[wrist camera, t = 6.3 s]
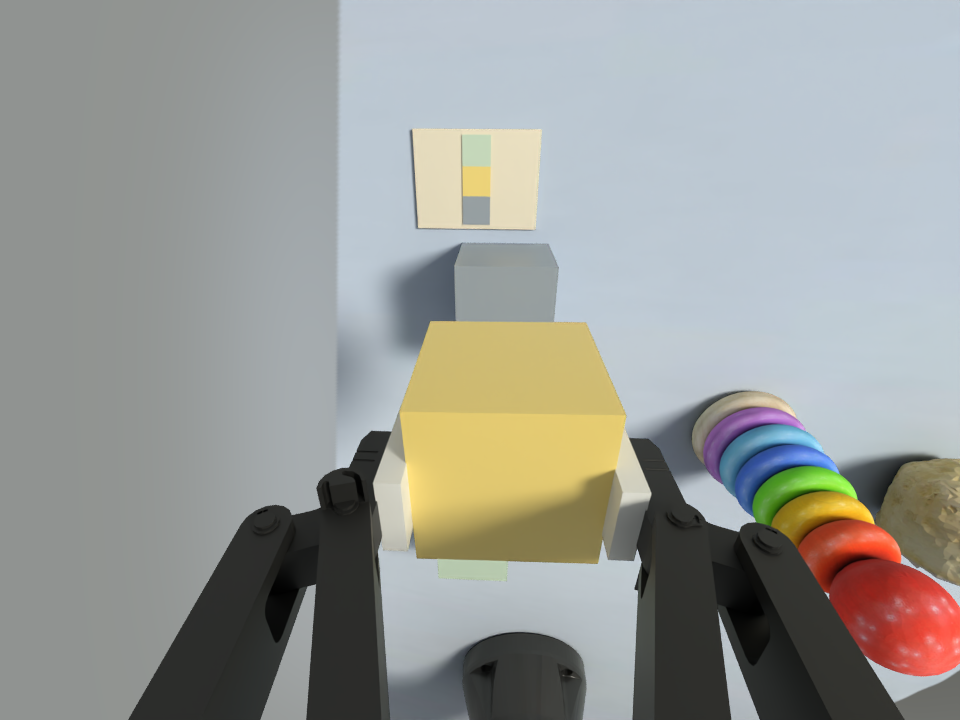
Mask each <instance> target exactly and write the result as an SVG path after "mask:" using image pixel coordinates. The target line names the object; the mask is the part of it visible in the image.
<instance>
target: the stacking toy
mask: <svg viewBox="0 0 960 720" xmlns="http://www.w3.org/2000/svg"><path fill="white" fill-rule="evenodd" d="M692 445H693V449H694V452H695V454H696V456H697V457H698V459H699V460H700V461H701V462H702V463H703V464H704V465H705V466H706V468H707V470H708V471H709V473H710V474H711V475H712V476H713V478H714V479H716V480H717V481H718V482H720V483H721V484H723V485H724V486H725V488H726V489H727V490H728V491H729V492H730V493H731V494H732V495H733V496H734V497H736V498H737V500H738V502H739V504H740V505H741V506H742V508H743V509H744V510H745V511H746V512H747V513H748V514H750V515H751V516H753V517H754V518H755V520H756V522H757V523H762V524H766V525H769V526H771V527H773V528H775V529H778V530H779V531H780V532H782V533H783V534H785V535H786V536H787V537H788V538H789V539H790V540H791V541H792V542H793V543H794V545H795V546H796V548H797V549H798V551H799V552H800V554H801V556H802V557H803V559H804V560H805V562H806V564H807V565H808V567H809V568H810V570H811V572H812V573H813V575H814V576H815V578H816V580H817V581H818V583H819V584H820V586H821V587H822V589H823V591H824V592H826V593H829V600H830V602H831V603H832V605H833V607H834V608H835V610H836V611H837V613H838V615H839V616H840V618H841V619H842V621H843V623H844V624H845V626H846V627H847V629H848V630H849V632H850V634H851V635H852V637H853V638H854V640H855V642H856V643H857V645H858V646H859V648H860V650H861V651H862V653H863V654H864V655H865V656H866V657H868V658H869V659H871V660H872V661H874V662H875V663H877V664H879V665H881V666H883V667H885V668H888V669H890V670H893V671H896V672H899V673H903V674H907V675H913V676H932V675H939V674H942V673H944V672H947V671H949V670H951V669H953V668H955V667H956V666H957V665H958V664H959V663H960V607H959V606H958V604H957V603H956V601H955V600H954V599H953V598H952V596H951V595H950V594H949V593H948V592H947V591H946V590H945V589H944V588H943V587H941V586H940V585H939V584H938V583H937V582H935V581H934V580H933V579H931V578H930V577H928V576H927V575H925V574H923V573H922V572H920V571H918V570H916V569H914V568H911V567H909V566H906V565H903V564H900V563H901V552H900V548H899V546H898V544H897V543H896V541H895V540H894V539H893V537H892V536H891V535H890V534H889V533H887V532H886V531H885V530H883V529H882V528H880V527H878V526H876V525H875V523H874V519H873V517H872V515H871V513H870V512H869V510H868V509H867V508H866V507H865V506H864V505H863V504H862V503H861V502H860V501H858V500H857V495H856V492H855V490H854V488H853V487H852V485H851V484H850V483H849V482H848V481H847V480H846V479H845V478H844V477H843V476H841V475H840V474H839V471H838V468H837V467H836V465H835V464H834V462H833V461H832V460H831V459H830V458H829V457H828V456H827V455H825V454H824V451H823V449H822V447H821V445H820V444H819V442H818V441H817V440H816V439H815V438H814V437H813V436H812V435H811V434H809V433H808V432H806V430H805V428H804V427H803V425H802V424H801V423H800V422H799V421H798V420H797V418H796V415H795V413H794V411H793V410H792V408H791V407H790V406H789V405H788V404H787V403H786V402H785V401H783V400H782V399H780V398H778V397H776V396H774V395H772V394H769V393H764V392H758V391H747V392H740V393H735V394H732V395H729V396H726V397H724V398H722V399H720V400H718V401H717V402H715V403H714V404H712V405H711V406H710V407H708V408H707V409H706V410H705V411H704V412H703V413H702V414H701V416H700V417H699V418H698V420H697V421H696V423H695V425H694V428H693V432H692Z"/></svg>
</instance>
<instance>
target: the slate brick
mask: <svg viewBox="0 0 960 720" xmlns="http://www.w3.org/2000/svg"><path fill="white" fill-rule="evenodd" d="M558 269H559V267H558V265H557V263H556V260H555V258H554V256H553V253H552V251H551V249H550V246H549V244H522V243H462V245H461V248H460V251H459V254H458V257H457V259H456V262H455V265H454V277H455V315H456V321H471V322H554V314H555V303H556V292H557V280H558Z"/></svg>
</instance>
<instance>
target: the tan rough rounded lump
mask: <svg viewBox="0 0 960 720" xmlns="http://www.w3.org/2000/svg"><path fill="white" fill-rule="evenodd" d="M875 523H876V526H878V527H880V528H882V529H883V530H885V531H886V532H887V533H889V534H890V535H891V536H892V537H893V539H894V540H895V541H896V543H897V544H898V546H899V548H900V552H901V555H903V556H904V557H905V558H907V559H908V560H909V561H910V562H911V563H912V564H913V565H914V566H915V567H916V568H919V567H921V568H923V569H925V570H926V571H928V572H929V573H931V574H932V575H933V576H935V577H936V578H938V579H941V580H943V581H946V582H949V583H952V584H955V585H958V586H960V459H947V458H945V459H932V460H930V461H920V462H918V461H914V462H909V463H906V464H903V465H902V466H901V467H900V469H899V470H898V472H897V474H896V475H895V477H894V479H893V481H892V484H891V485H890V486H889V487H888V490H887V493H886V495H885V497H884V501H883V504H882V506H881V510H880V511H879V512H877V514H876V520H875Z"/></svg>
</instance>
